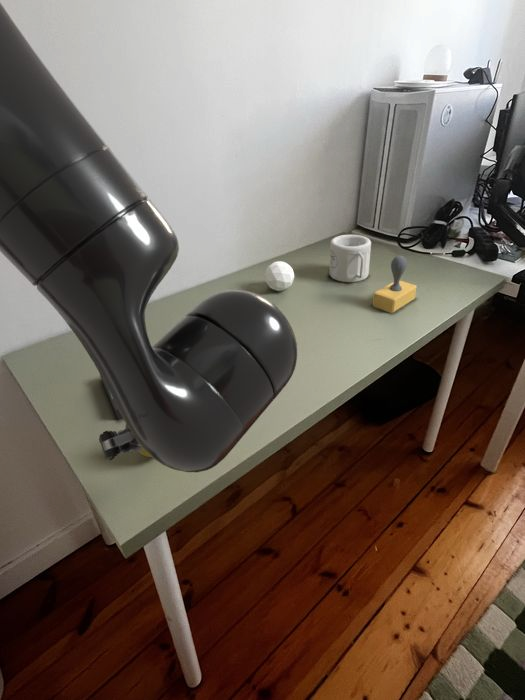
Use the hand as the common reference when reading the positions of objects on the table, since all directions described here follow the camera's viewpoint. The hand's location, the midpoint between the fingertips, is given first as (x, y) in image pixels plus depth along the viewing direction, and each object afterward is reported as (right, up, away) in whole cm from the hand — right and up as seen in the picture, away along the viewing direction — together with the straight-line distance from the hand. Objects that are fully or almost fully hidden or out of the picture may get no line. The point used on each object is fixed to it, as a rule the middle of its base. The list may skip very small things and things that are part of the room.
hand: (161, 429), depth 54 cm
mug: (+37, +30, +66) cm, 82 cm away
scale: (-9, +3, +29) cm, 31 cm away
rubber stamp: (+45, +21, +52) cm, 72 cm away
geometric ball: (+17, +26, +62) cm, 70 cm away
